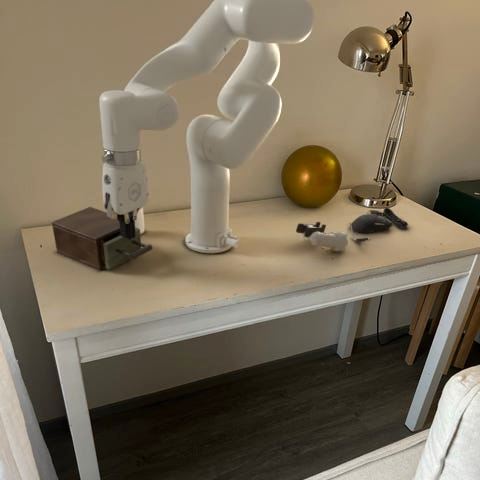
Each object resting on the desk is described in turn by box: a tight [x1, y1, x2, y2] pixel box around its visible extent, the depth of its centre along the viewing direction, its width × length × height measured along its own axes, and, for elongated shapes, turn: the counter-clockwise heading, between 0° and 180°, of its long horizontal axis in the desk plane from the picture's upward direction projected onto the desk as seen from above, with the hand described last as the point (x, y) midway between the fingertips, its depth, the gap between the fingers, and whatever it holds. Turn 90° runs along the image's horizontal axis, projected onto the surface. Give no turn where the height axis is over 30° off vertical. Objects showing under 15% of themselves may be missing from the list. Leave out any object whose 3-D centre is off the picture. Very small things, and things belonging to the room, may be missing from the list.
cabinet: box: [51, 206, 120, 271], centre depth 123 cm, size 15×12×8 cm
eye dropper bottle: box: [135, 206, 145, 235], centre depth 131 cm, size 4×6×12 cm
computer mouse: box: [349, 207, 409, 234], centre depth 147 cm, size 12×18×4 cm
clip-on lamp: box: [295, 221, 371, 252], centre depth 133 cm, size 12×6×18 cm
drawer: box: [99, 228, 153, 270], centre depth 121 cm, size 19×11×6 cm, turn 57°
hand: (128, 236), depth 116 cm, fingers closed
